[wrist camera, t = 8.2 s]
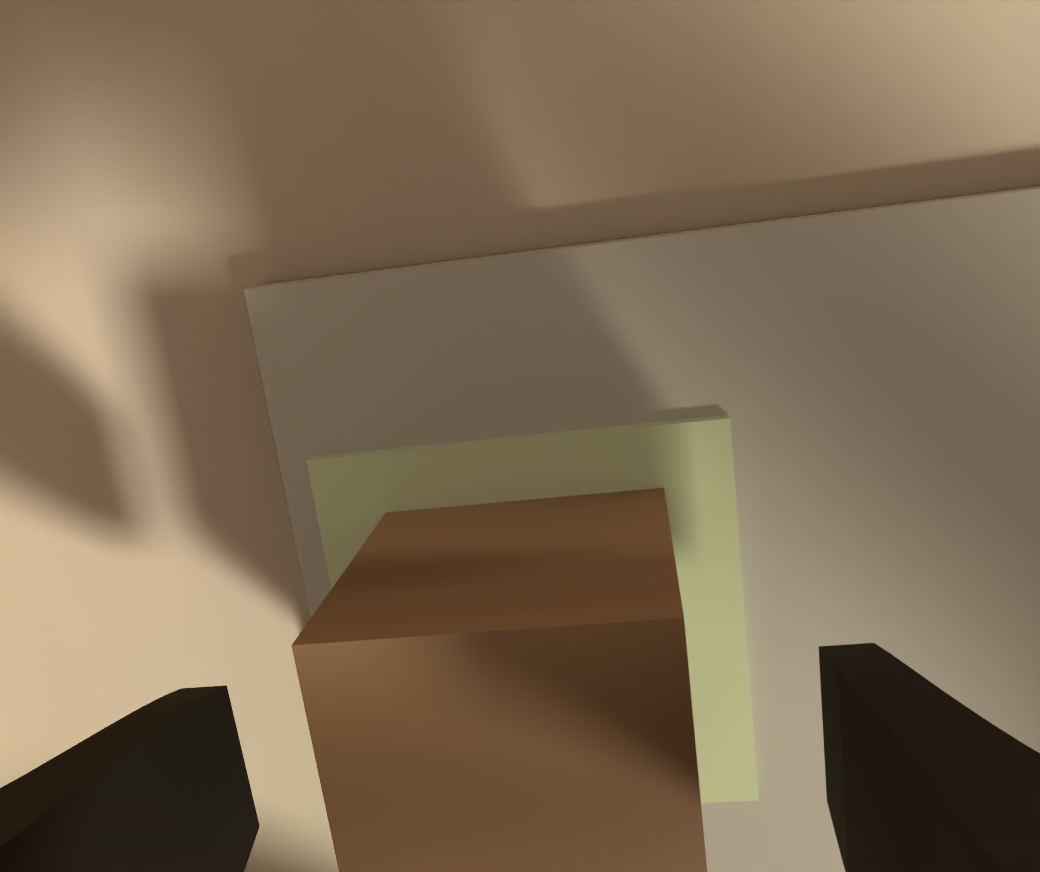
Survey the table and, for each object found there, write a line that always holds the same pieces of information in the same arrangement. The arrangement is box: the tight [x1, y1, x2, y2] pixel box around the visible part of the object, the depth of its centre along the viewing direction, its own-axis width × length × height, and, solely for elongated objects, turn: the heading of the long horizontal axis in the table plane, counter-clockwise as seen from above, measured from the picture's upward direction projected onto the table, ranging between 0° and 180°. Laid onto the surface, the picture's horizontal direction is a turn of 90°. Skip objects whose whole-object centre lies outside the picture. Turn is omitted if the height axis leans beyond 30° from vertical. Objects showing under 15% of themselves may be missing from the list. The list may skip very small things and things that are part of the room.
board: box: [243, 186, 1040, 872], centre depth 13 cm, size 18×11×1 cm, turn 98°
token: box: [292, 488, 707, 872], centre depth 12 cm, size 4×4×4 cm
